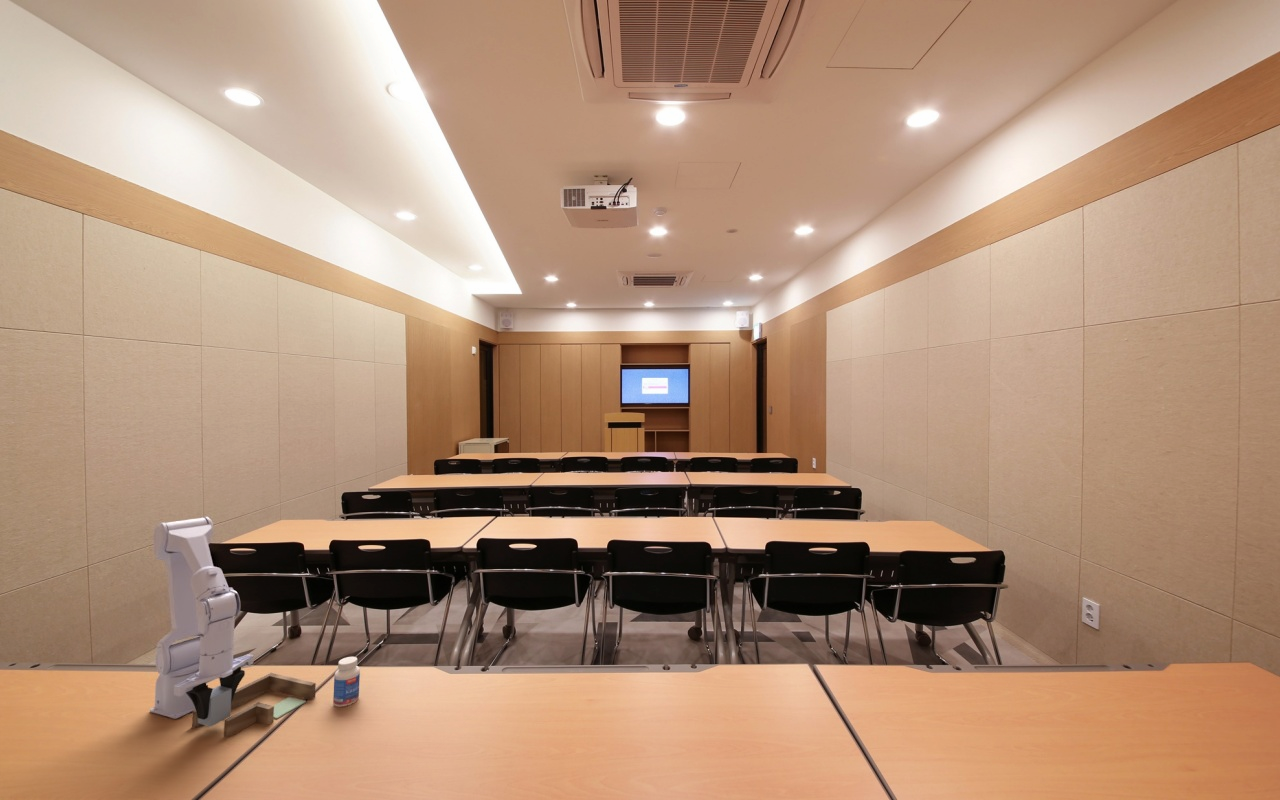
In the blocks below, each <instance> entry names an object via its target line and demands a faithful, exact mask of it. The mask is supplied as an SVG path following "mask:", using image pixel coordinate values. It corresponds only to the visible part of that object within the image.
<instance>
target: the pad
mask: <svg viewBox="0 0 1280 800" xmlns="http://www.w3.org/2000/svg"><path fill="white" fill-rule="evenodd" d="M306 703H307V701H306V700H305V699H304V700H303V699H301V698H296V697H293V696H292V697H291V696H288V697H287V698H284V699H282V700H281V701H280V702H278V703H275V704H273V706H274V719H275V720H278V719H280V718H282V717H283V716H285V715H286V714H288V713H290V712H292V711H293V710H296V709H297V708H299V707H300V706H302V705H303V704H306Z"/></svg>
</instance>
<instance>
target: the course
mask: <svg viewBox="0 0 1280 800" xmlns="http://www.w3.org/2000/svg"><path fill="white" fill-rule="evenodd" d="M316 685H317V684H316V682H312V681H308V680H305V679H299V678H295V677H290V676H285V675H283V674H278V673H273V672H270V673H268V674H266V675H264V676H262V677H260V678H258V679H257V678H256V679H255V680H253V681H251V682H249V683H248V684H245V685H243V686H241V687H239V688H237V689H236V691H235V694H234V697H233V700H232V703H231V710H233V709H235V708H237V707H240V706H241V705H243V704H245V703H247V702H248V701H251V700H252V699H254V698H256V697H259V696H261V695H262V694H264V693H266V692H269V691H272V692H275V693H280V694H283V695H288V696H292V697H295V698H296V697H297V698H299V699H304V700H309V701H312V700H314V699H315V698H316ZM274 719H275V718H274V705H270V704H268V703H263V702H259V701H258V702H255V703H253V704H251V705H250V706H248V707H247V708H244V709H243V710H240V711H238V712H237V713H235V714H233V715H231V716H230V717H228V718H226V719H224V720H223V724H224V725H223V726H224V727H223V729H224V730H223V737H225V738H230V737H231V736H233V735H235V734H237V733H238V732H240V731H242V730H243V729H246V728H247V727H249V726H251V725H253V724H255V723H258V724H263V725H267V726H269V725H270V724H272V723H274ZM202 725H203V724H199V723H198V716H197V712H196V710H194V711H192V722H191V727H192V728H195V729H197V728H199V727H200V726H202Z"/></svg>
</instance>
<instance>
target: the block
mask: <svg viewBox="0 0 1280 800" xmlns="http://www.w3.org/2000/svg"><path fill="white" fill-rule="evenodd" d="M212 689H213V690H212V693H211V696H210V701H209V713H208V717H207V718H206V719H204V720H203V719H200V718H198V723H199V724H203V725H204V726H207V727H210V728H211V727H213V726H215V725H216V724H218V723H221V721H225V719H227V718H229V717H231V716H232V715H231V714H232V713H231V691H232V689H230V688H226V687H223V686H221V685H218V686H216V687H214V688H213V687H212Z"/></svg>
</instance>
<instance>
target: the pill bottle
mask: <svg viewBox="0 0 1280 800" xmlns="http://www.w3.org/2000/svg"><path fill="white" fill-rule="evenodd" d="M337 665H338V667H337V670H336V671H335V673H334V677H333V678H334V679H333V697H332V698H333V700H332V701H333V705H334V707H337V708H342V706H343V707H348V706H350V705H352V703H353V704H354V703H355V701H356V700H357V699H358V700H359V696H360V677H361V675H360V674H361V669H360V667H359V666H358V657H356V656H347V657H344V658H342V659H340V660H339V661H338V664H337ZM358 700H357V701H358ZM357 701H356V702H357ZM347 705H348V706H347Z"/></svg>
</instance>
